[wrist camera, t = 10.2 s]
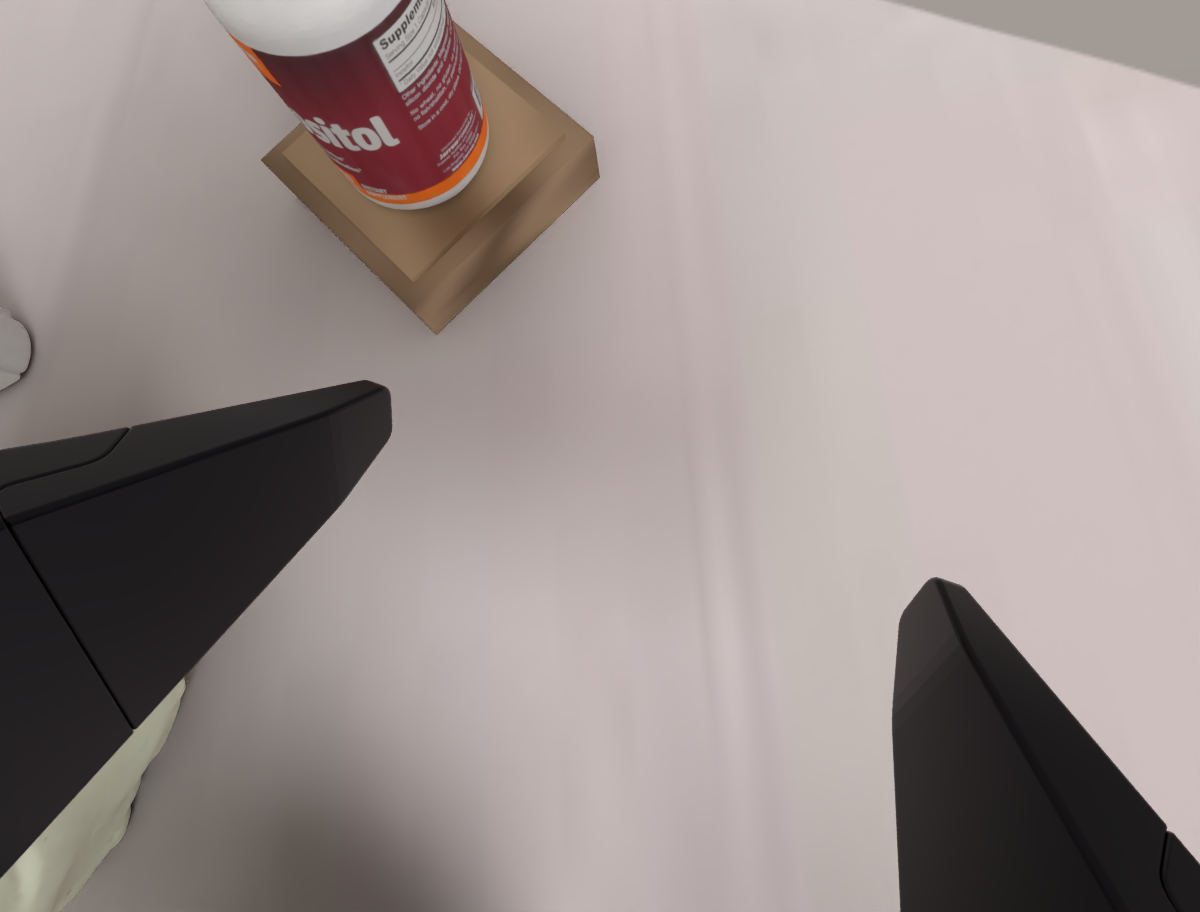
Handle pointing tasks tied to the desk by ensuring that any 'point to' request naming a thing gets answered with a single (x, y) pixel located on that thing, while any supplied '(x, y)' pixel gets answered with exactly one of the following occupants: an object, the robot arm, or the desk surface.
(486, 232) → the plinth
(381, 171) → the pill bottle
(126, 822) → the wavy plaster lump
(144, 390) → the desk surface
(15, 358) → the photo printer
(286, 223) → the desk surface
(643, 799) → the desk surface
